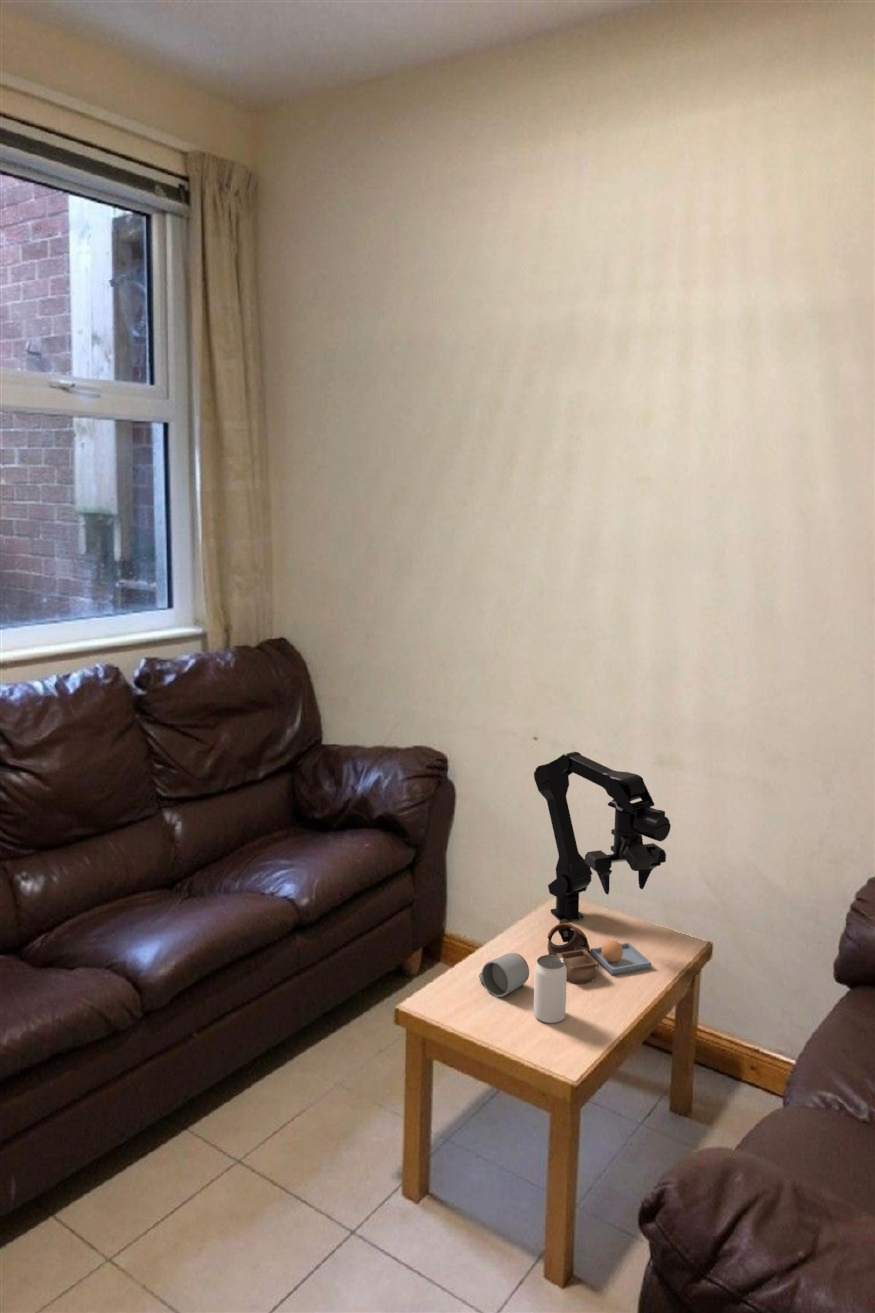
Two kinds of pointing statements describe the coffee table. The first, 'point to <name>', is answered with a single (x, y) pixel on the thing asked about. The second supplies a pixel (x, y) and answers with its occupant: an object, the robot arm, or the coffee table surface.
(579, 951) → the open wooden box
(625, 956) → the tray
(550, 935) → the pottery mug
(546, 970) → the can
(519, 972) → the ceramic mug
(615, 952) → the ball
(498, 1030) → the coffee table surface
